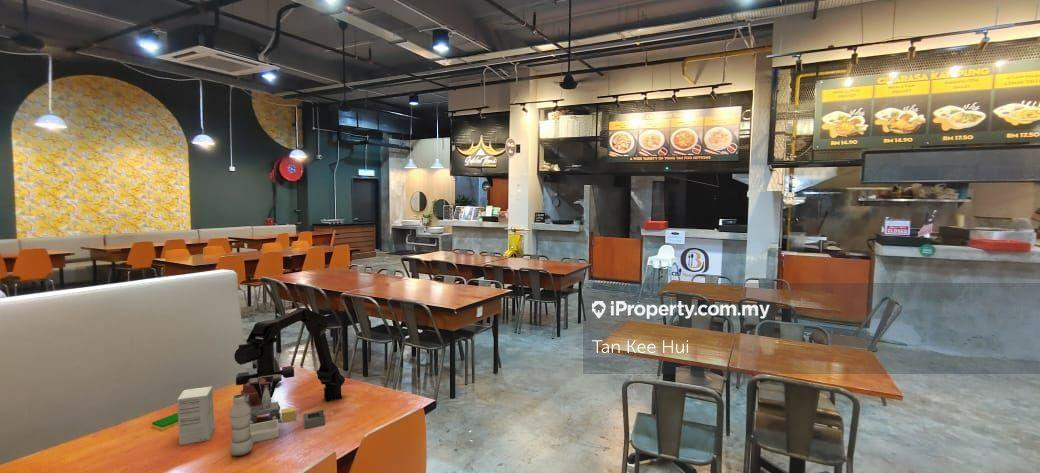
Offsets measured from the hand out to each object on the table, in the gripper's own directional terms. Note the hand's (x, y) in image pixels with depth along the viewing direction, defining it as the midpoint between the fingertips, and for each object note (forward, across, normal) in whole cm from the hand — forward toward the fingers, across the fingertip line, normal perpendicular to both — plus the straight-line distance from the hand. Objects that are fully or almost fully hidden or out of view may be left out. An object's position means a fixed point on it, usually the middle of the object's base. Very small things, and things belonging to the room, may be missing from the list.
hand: (266, 398), depth 173 cm
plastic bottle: (+14, +8, +12) cm, 20 cm away
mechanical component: (+13, +4, -28) cm, 31 cm away
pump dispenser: (+13, -1, -51) cm, 53 cm away
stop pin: (+4, 0, 0) cm, 4 cm away
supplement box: (+14, +22, -10) cm, 28 cm away
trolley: (+13, +1, -13) cm, 19 cm away
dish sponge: (+14, +31, -29) cm, 45 cm away
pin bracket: (+13, -16, -1) cm, 21 cm away
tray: (+14, +2, +1) cm, 14 cm away
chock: (+13, -7, -9) cm, 18 cm away
